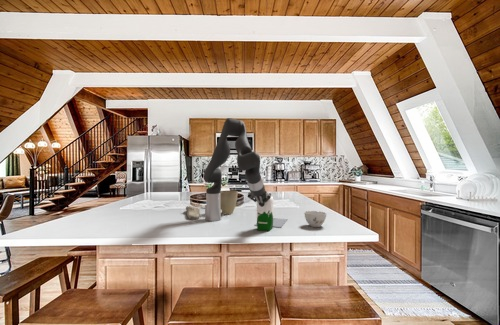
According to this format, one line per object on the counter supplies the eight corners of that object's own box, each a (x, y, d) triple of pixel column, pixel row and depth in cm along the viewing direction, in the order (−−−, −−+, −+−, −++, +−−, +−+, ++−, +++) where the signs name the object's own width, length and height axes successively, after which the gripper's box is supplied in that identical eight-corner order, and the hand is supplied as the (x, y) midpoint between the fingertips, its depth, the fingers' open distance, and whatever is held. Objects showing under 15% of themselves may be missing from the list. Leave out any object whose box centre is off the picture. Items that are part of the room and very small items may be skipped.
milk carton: (255, 230, 144) (255, 194, 144) (260, 226, 153) (260, 192, 153) (270, 231, 141) (270, 194, 141) (274, 227, 150) (274, 192, 150)
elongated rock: (186, 223, 168) (201, 223, 171) (186, 214, 168) (202, 215, 171) (185, 210, 202) (198, 210, 205) (185, 203, 202) (198, 203, 204)
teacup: (328, 229, 147) (328, 214, 147) (305, 228, 148) (305, 214, 148) (323, 222, 162) (323, 209, 162) (302, 222, 163) (302, 209, 163)
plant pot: (214, 215, 185) (215, 192, 185) (220, 211, 200) (220, 190, 200) (235, 215, 183) (235, 193, 183) (239, 211, 198) (239, 190, 198)
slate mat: (254, 225, 155) (254, 225, 155) (263, 218, 176) (263, 217, 176) (281, 227, 150) (281, 227, 150) (287, 219, 171) (287, 219, 171)
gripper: (270, 179, 130) (275, 200, 142) (245, 178, 134) (252, 199, 146) (267, 191, 125) (273, 212, 137) (241, 190, 129) (249, 210, 141)
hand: (262, 205), depth 141 cm, fingers closed
